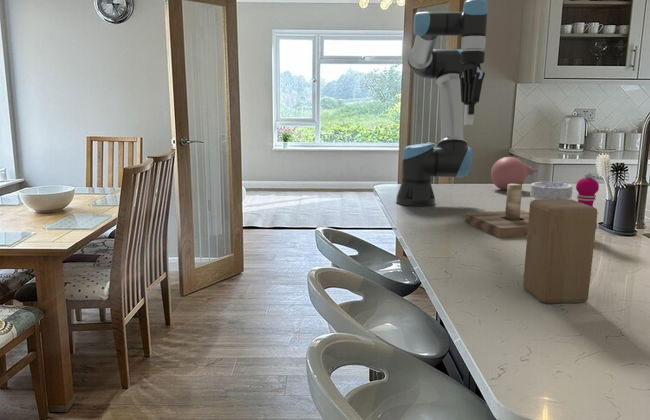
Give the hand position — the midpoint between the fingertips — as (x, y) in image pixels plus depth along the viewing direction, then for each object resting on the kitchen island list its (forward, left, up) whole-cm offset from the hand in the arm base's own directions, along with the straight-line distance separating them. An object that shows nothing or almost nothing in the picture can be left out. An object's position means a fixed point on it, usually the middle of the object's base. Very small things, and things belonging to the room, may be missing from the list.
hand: (468, 124), depth 179 cm
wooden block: (+71, -16, -33) cm, 80 cm away
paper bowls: (-19, +48, -33) cm, 61 cm away
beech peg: (+14, +10, -32) cm, 37 cm away
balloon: (-50, +51, -33) cm, 79 cm away
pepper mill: (+32, +22, -33) cm, 51 cm away
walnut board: (+14, +10, -32) cm, 37 cm away
